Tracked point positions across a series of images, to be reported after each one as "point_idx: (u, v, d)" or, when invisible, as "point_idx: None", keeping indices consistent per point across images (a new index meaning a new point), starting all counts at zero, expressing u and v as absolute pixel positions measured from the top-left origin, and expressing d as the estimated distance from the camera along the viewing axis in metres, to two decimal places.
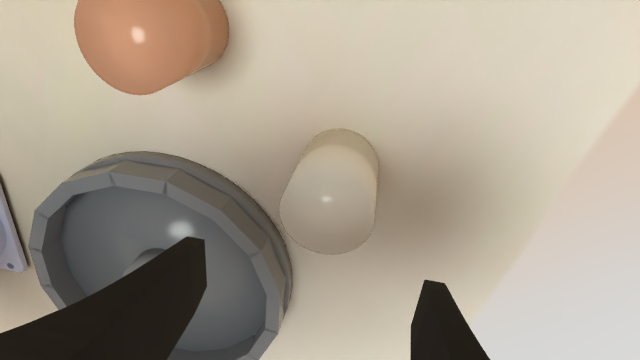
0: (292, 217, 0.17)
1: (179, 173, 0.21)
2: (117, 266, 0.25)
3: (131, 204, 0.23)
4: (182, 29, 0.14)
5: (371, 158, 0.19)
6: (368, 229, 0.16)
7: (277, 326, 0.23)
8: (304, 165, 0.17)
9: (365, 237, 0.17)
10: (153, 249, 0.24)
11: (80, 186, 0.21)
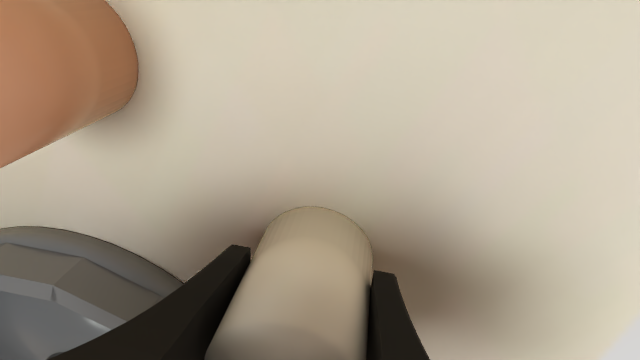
0: None
1: (80, 266, 0.14)
2: None
3: (25, 298, 0.16)
4: None
5: (361, 260, 0.12)
6: None
7: None
8: (248, 291, 0.10)
9: None
10: None
11: None
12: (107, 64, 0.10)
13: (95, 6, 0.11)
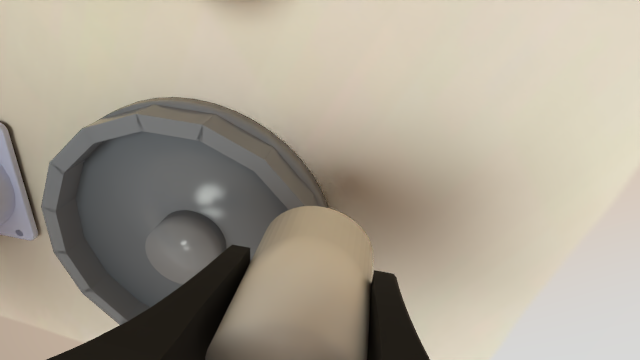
0: None
1: (215, 118, 0.18)
2: (138, 231, 0.23)
3: (157, 158, 0.20)
4: None
5: (362, 259, 0.12)
6: None
7: None
8: (249, 289, 0.10)
9: None
10: (180, 211, 0.21)
11: (102, 132, 0.18)
12: None
13: None
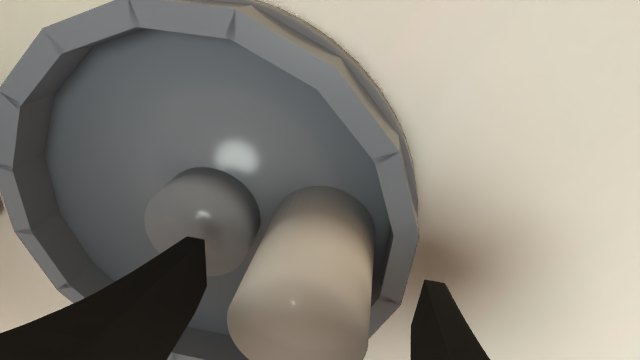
0: (245, 333, 0.11)
1: (253, 8, 0.12)
2: (135, 202, 0.16)
3: (161, 85, 0.14)
4: None
5: (365, 233, 0.13)
6: (358, 356, 0.11)
7: (402, 292, 0.14)
8: (266, 254, 0.11)
9: None
10: (195, 168, 0.15)
11: (75, 33, 0.12)
12: None
13: None
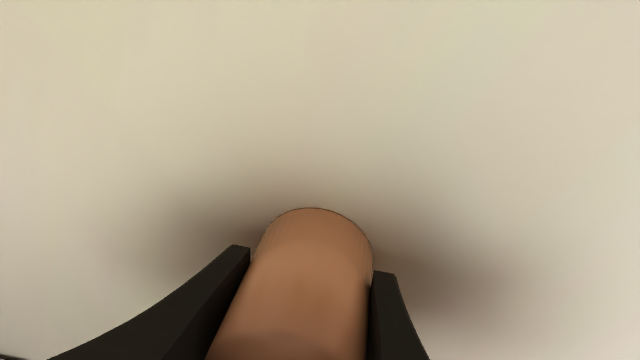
0: None
1: None
2: None
3: None
4: None
5: None
6: None
7: None
8: None
9: None
10: None
11: None
12: (369, 283, 0.12)
13: (351, 233, 0.13)
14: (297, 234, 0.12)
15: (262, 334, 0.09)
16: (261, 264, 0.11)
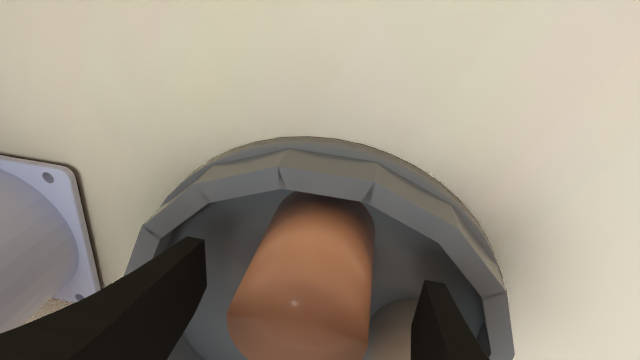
0: None
1: (380, 169, 0.13)
2: None
3: None
4: (366, 312, 0.11)
5: None
6: None
7: None
8: None
9: None
10: None
11: (224, 189, 0.13)
12: (373, 252, 0.14)
13: (356, 208, 0.14)
14: (308, 206, 0.13)
15: (281, 283, 0.10)
16: (276, 231, 0.12)
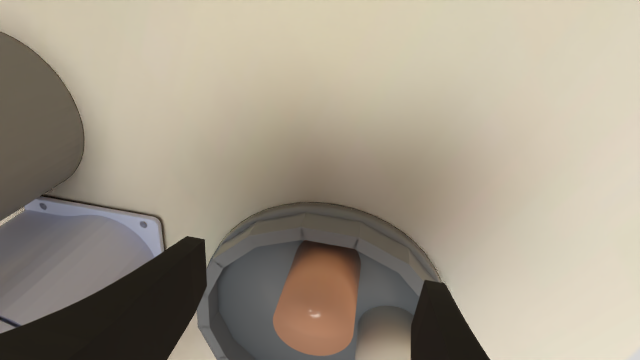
0: None
1: (363, 227, 0.22)
2: (270, 307, 0.26)
3: None
4: (352, 315, 0.19)
5: None
6: None
7: None
8: (370, 359, 0.21)
9: None
10: None
11: (267, 239, 0.22)
12: (358, 277, 0.22)
13: (348, 249, 0.22)
14: (319, 249, 0.21)
15: (305, 298, 0.18)
16: (300, 266, 0.21)
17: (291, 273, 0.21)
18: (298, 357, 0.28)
